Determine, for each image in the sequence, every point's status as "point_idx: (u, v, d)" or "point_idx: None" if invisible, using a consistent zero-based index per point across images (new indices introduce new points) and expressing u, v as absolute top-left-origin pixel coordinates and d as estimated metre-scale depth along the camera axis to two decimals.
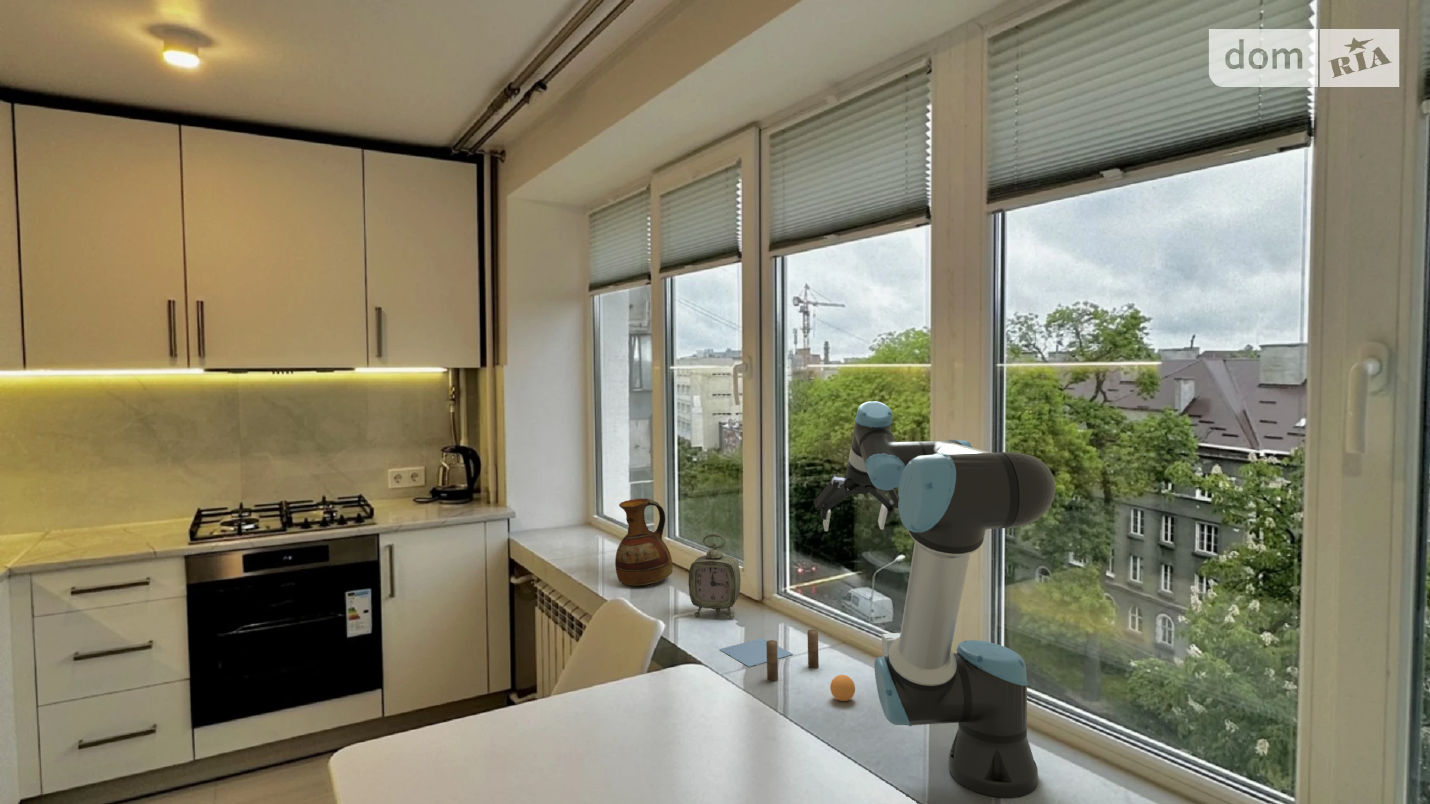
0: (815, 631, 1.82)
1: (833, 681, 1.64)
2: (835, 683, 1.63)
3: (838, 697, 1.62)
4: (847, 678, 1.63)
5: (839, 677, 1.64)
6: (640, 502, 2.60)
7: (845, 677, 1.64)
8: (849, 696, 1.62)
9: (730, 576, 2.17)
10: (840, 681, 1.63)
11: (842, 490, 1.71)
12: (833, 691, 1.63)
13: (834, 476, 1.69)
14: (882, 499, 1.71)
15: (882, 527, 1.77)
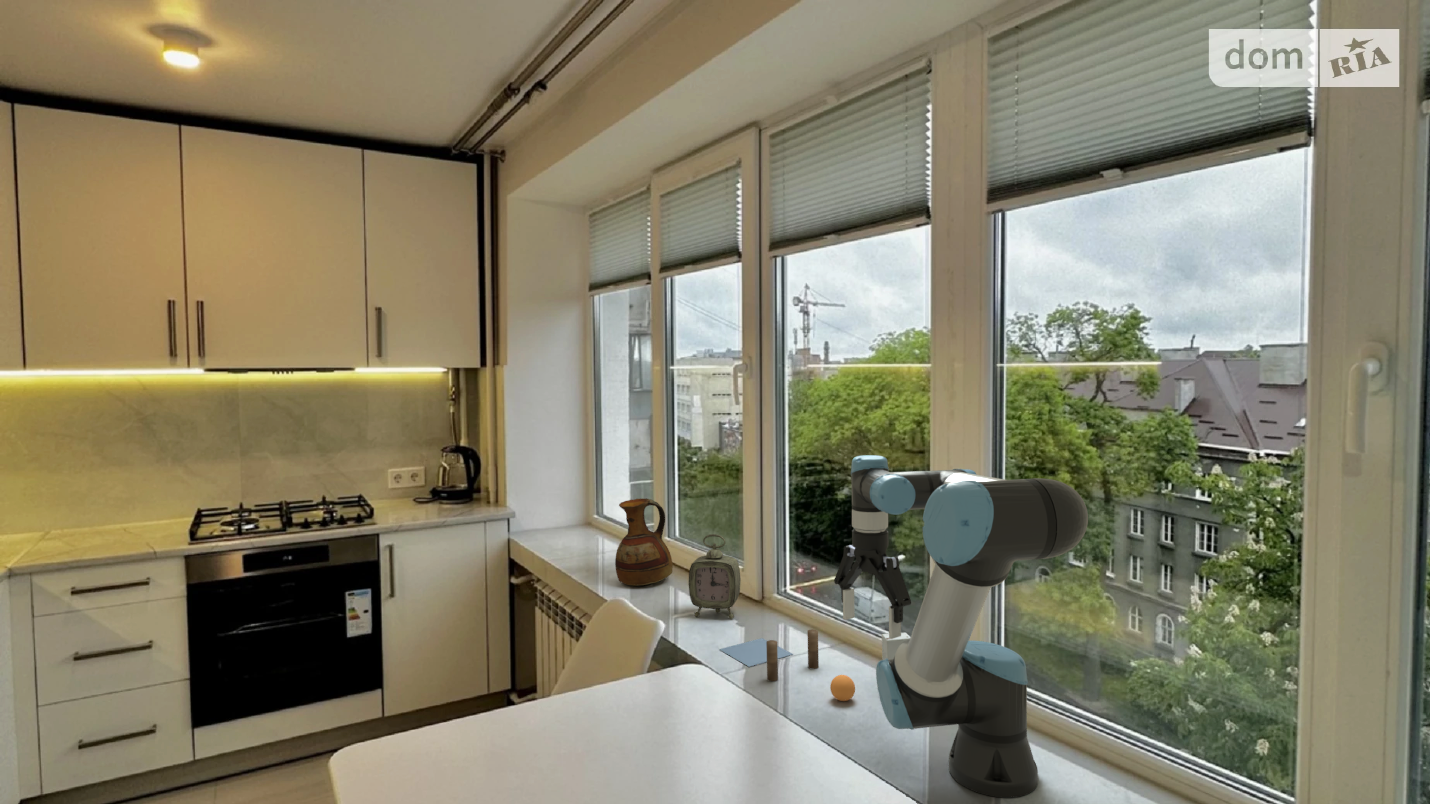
0: (815, 631, 1.82)
1: (833, 681, 1.64)
2: (835, 683, 1.63)
3: (838, 697, 1.62)
4: (847, 678, 1.63)
5: (839, 677, 1.64)
6: (640, 502, 2.60)
7: (845, 677, 1.64)
8: (849, 696, 1.62)
9: (730, 576, 2.17)
10: (840, 681, 1.63)
11: None
12: (833, 691, 1.63)
13: (851, 545, 1.61)
14: (885, 587, 1.51)
15: (890, 634, 1.50)
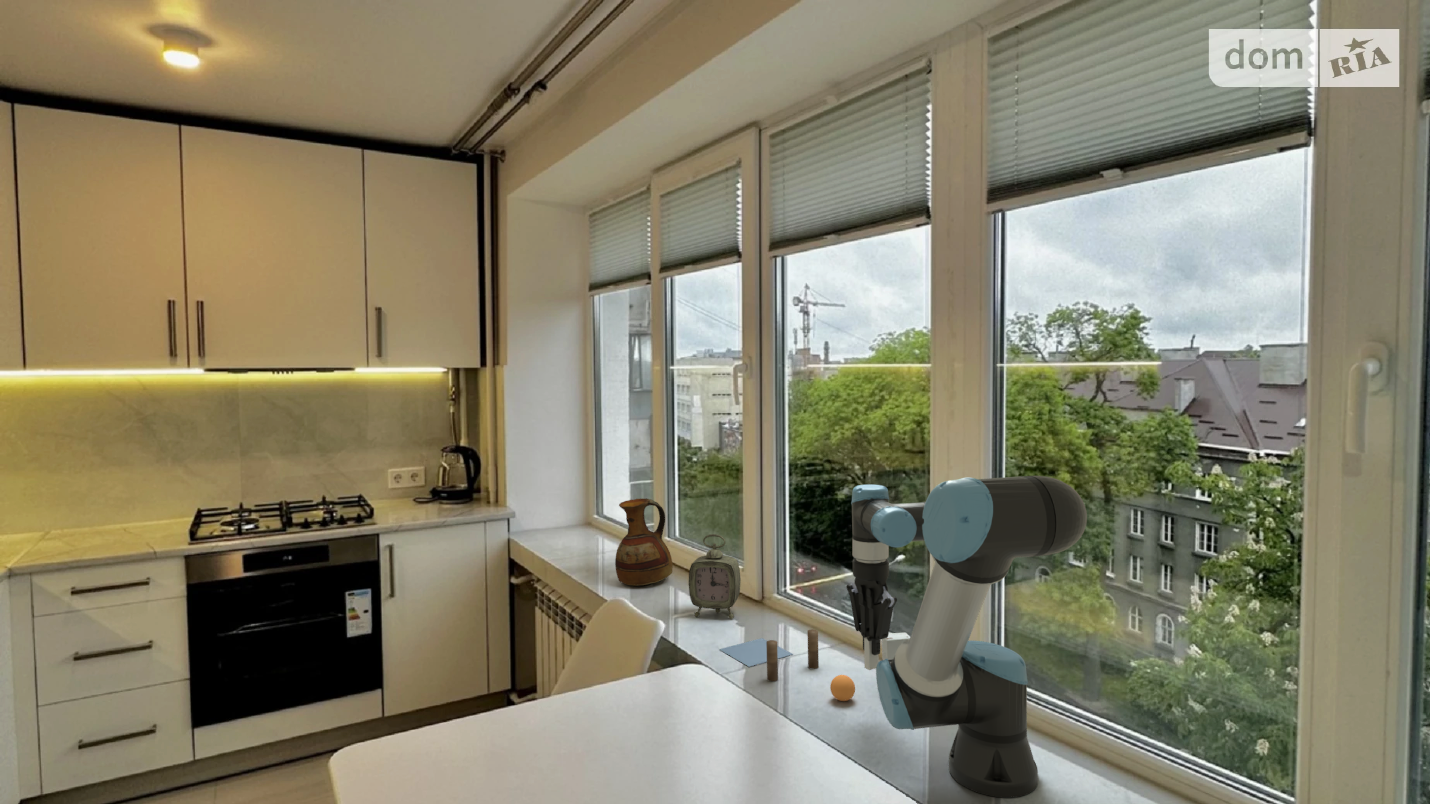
0: (815, 631, 1.82)
1: (833, 681, 1.64)
2: (835, 683, 1.63)
3: (838, 697, 1.62)
4: (847, 678, 1.63)
5: (839, 677, 1.64)
6: (640, 502, 2.60)
7: (845, 677, 1.64)
8: (849, 696, 1.62)
9: (730, 576, 2.17)
10: (840, 681, 1.63)
11: None
12: (833, 691, 1.63)
13: None
14: (872, 619, 1.54)
15: (868, 666, 1.55)
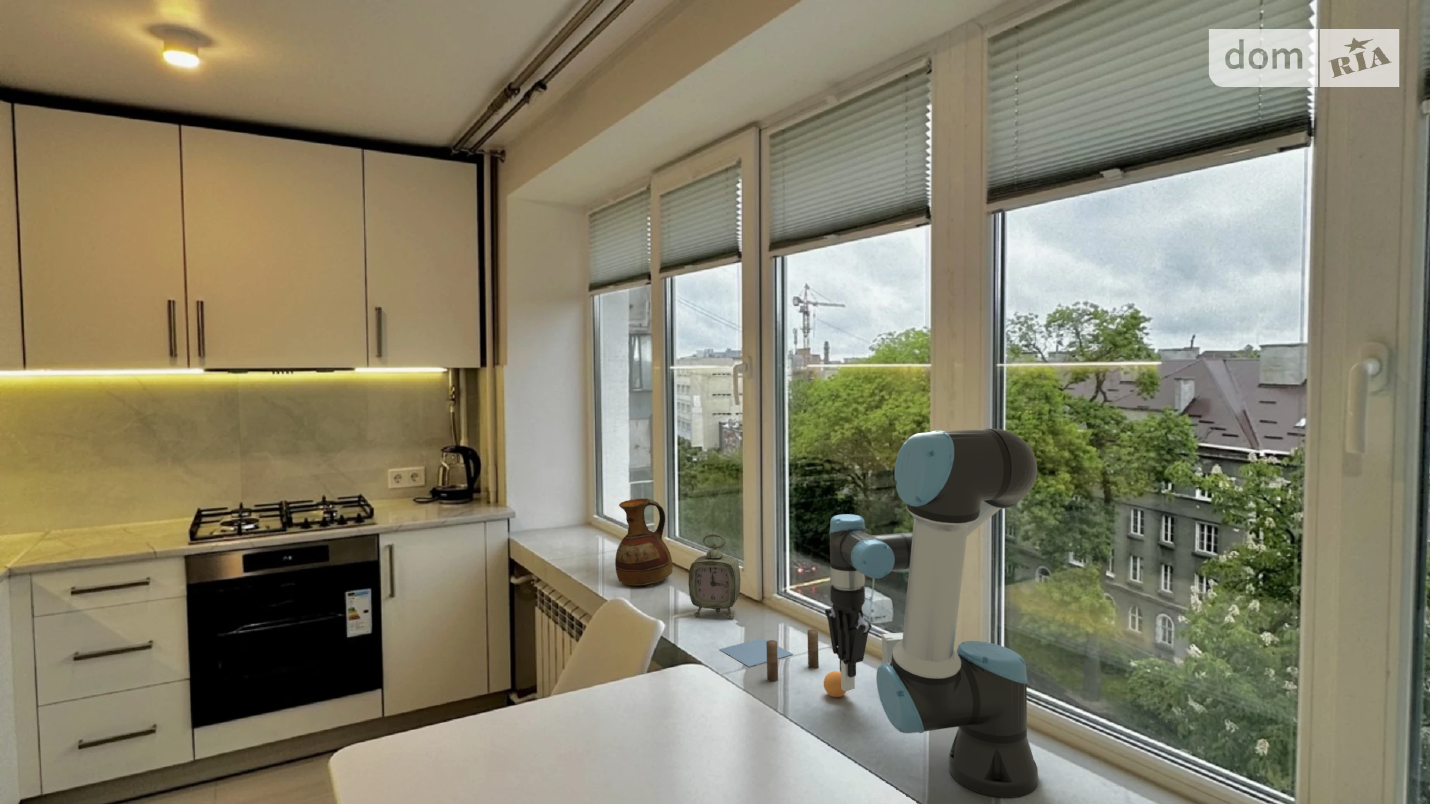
0: (815, 631, 1.82)
1: (824, 680, 1.67)
2: (826, 679, 1.66)
3: (833, 690, 1.64)
4: (835, 671, 1.67)
5: (828, 673, 1.67)
6: (640, 502, 2.60)
7: (833, 671, 1.67)
8: None
9: (730, 576, 2.17)
10: (829, 674, 1.66)
11: None
12: (826, 687, 1.65)
13: None
14: (848, 643, 1.61)
15: (844, 687, 1.63)
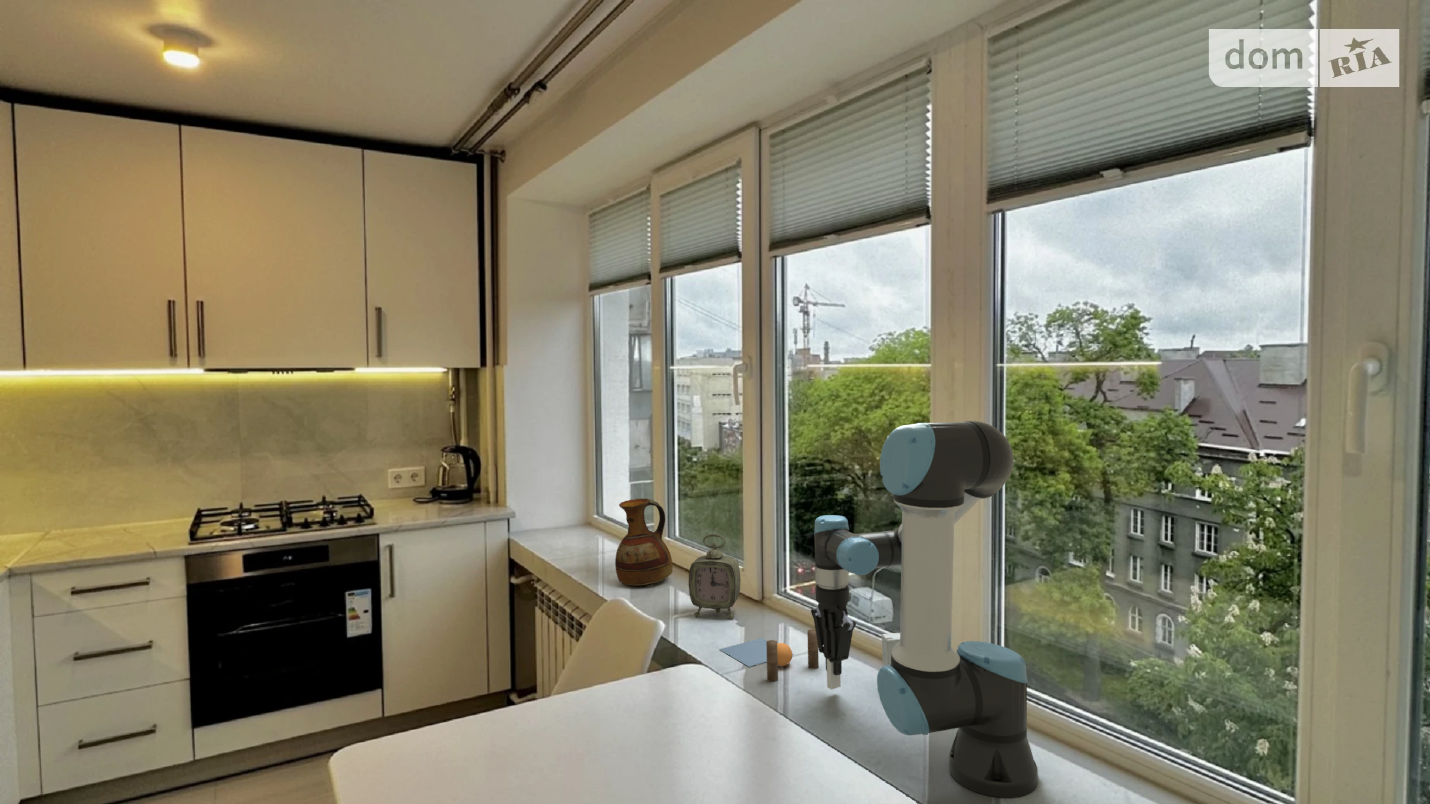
0: (815, 631, 1.82)
1: None
2: None
3: None
4: None
5: None
6: (640, 502, 2.60)
7: None
8: (779, 643, 1.84)
9: (730, 576, 2.17)
10: None
11: None
12: None
13: None
14: (833, 642, 1.65)
15: (830, 685, 1.66)
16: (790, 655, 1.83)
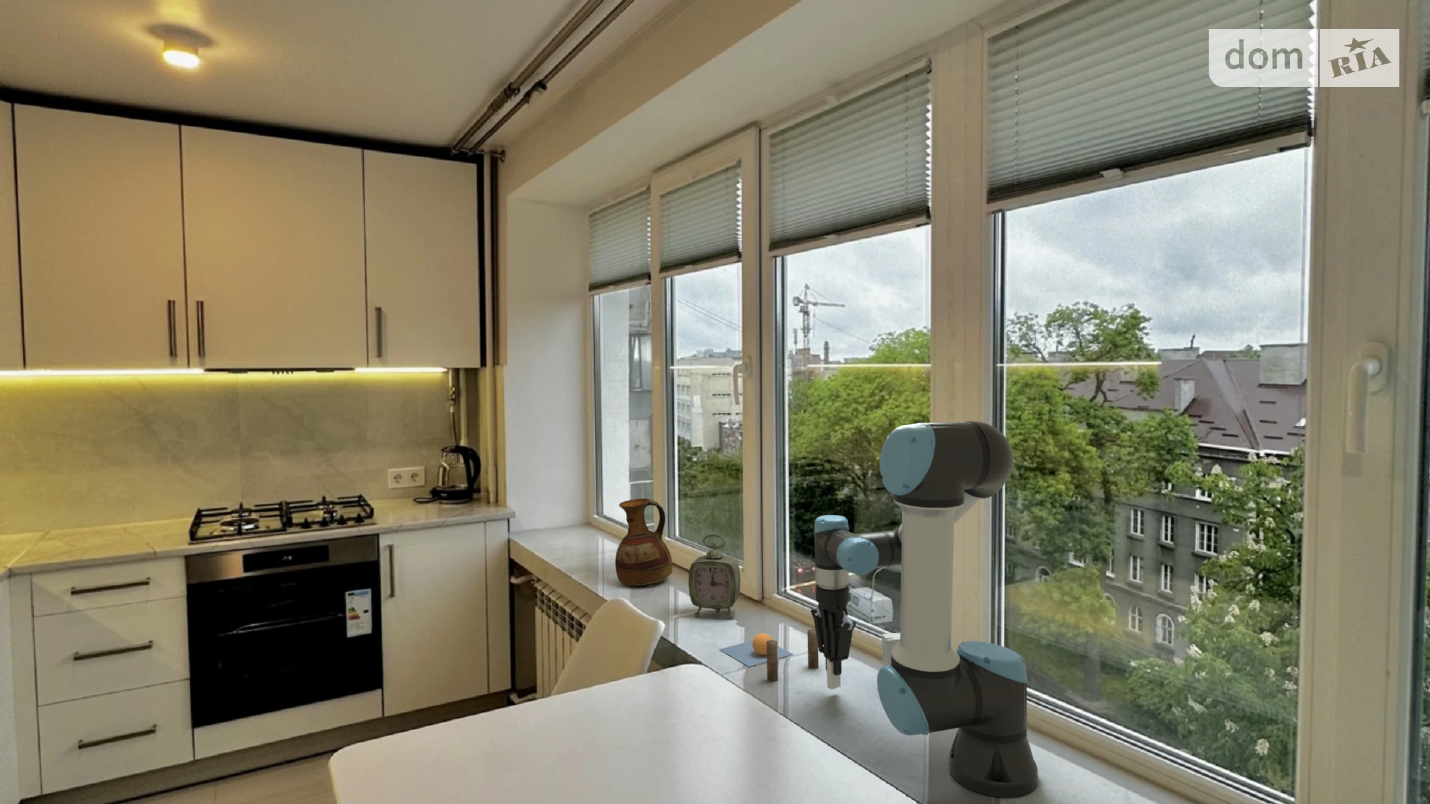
0: (815, 631, 1.82)
1: (759, 643, 1.89)
2: (759, 647, 1.89)
3: (754, 650, 1.91)
4: None
5: (765, 645, 1.89)
6: (640, 502, 2.60)
7: None
8: None
9: (730, 576, 2.17)
10: (763, 649, 1.89)
11: None
12: (754, 646, 1.90)
13: None
14: (833, 642, 1.65)
15: (830, 685, 1.66)
16: None
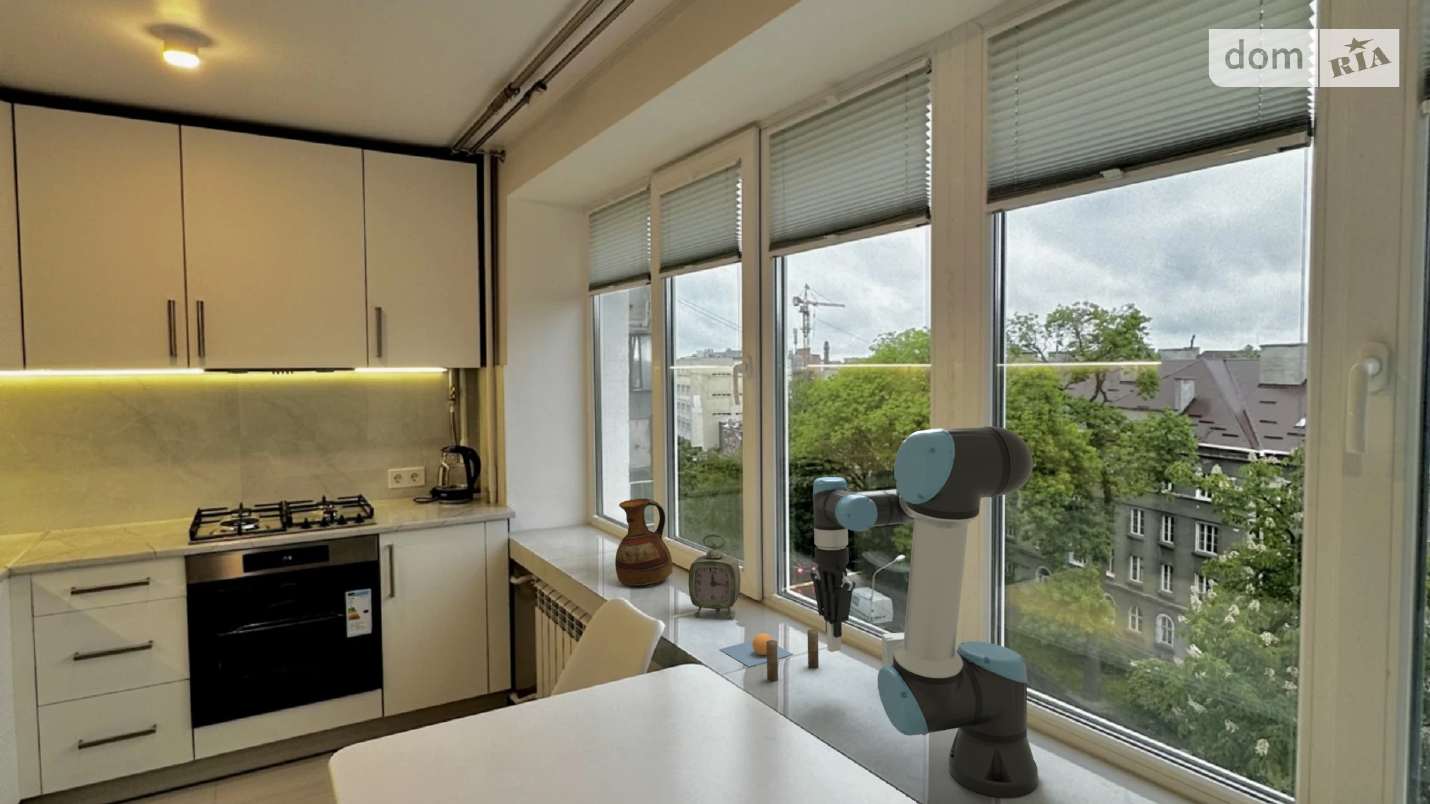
0: (815, 631, 1.82)
1: (759, 643, 1.89)
2: (759, 647, 1.89)
3: (754, 650, 1.91)
4: None
5: (765, 645, 1.89)
6: (640, 502, 2.60)
7: None
8: None
9: (730, 576, 2.17)
10: (763, 649, 1.89)
11: None
12: (754, 646, 1.90)
13: None
14: (833, 603, 1.64)
15: (830, 648, 1.65)
16: None
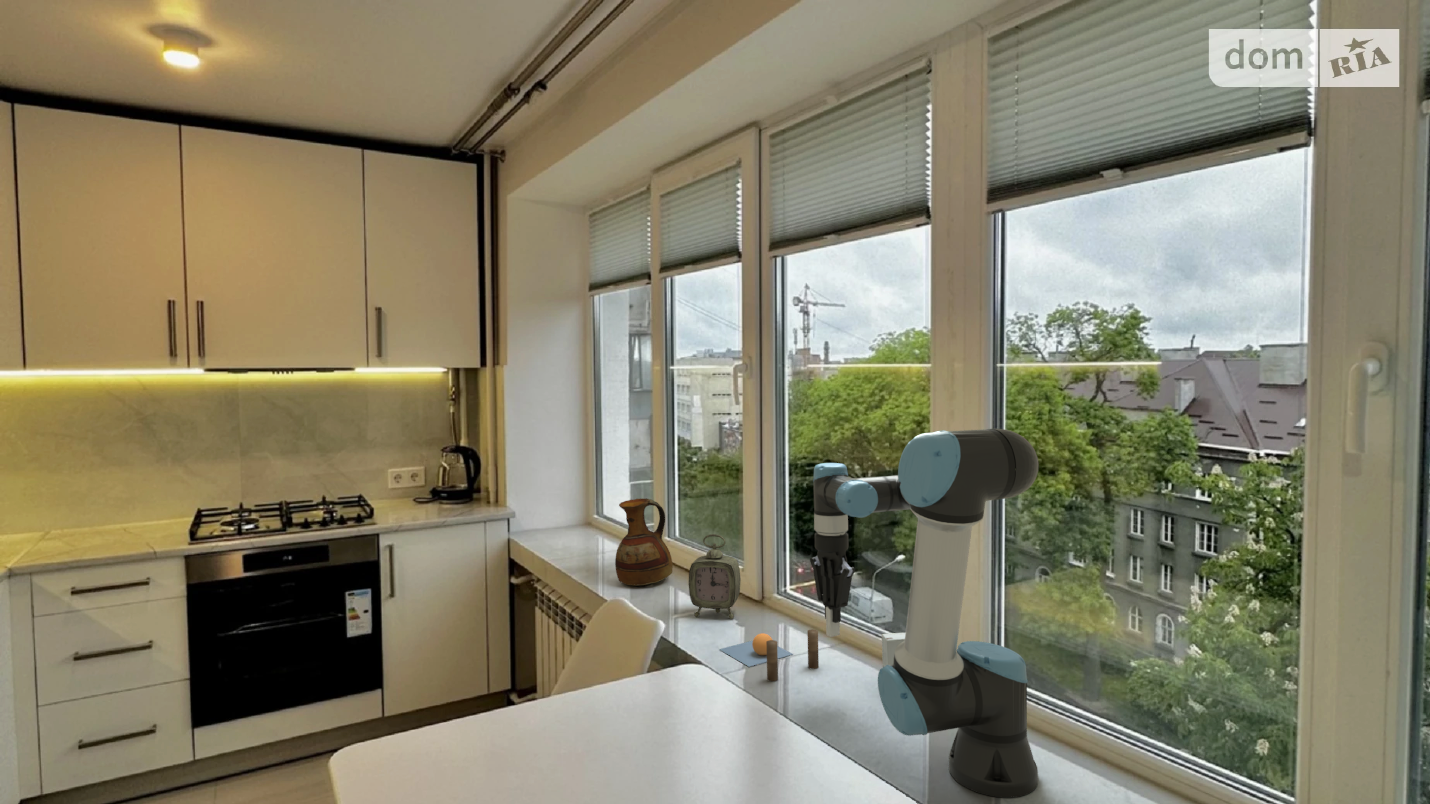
0: (815, 631, 1.82)
1: (759, 643, 1.89)
2: (759, 647, 1.89)
3: (754, 650, 1.91)
4: None
5: (765, 645, 1.89)
6: (640, 502, 2.60)
7: None
8: None
9: (730, 576, 2.17)
10: (763, 649, 1.89)
11: None
12: (754, 646, 1.90)
13: None
14: (832, 589, 1.64)
15: (829, 633, 1.65)
16: None
